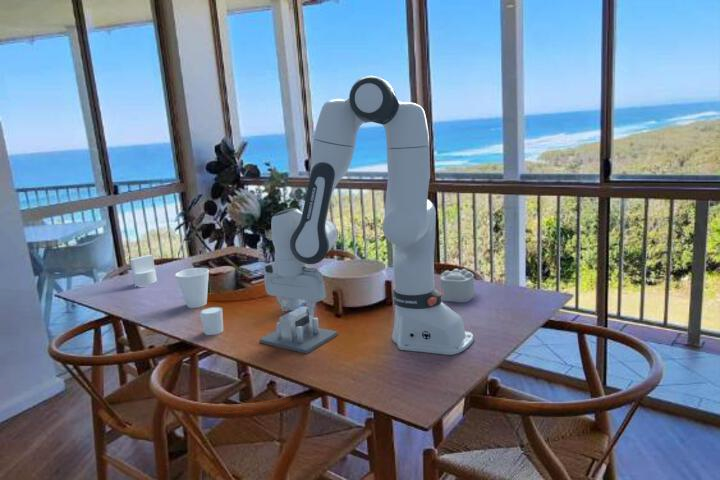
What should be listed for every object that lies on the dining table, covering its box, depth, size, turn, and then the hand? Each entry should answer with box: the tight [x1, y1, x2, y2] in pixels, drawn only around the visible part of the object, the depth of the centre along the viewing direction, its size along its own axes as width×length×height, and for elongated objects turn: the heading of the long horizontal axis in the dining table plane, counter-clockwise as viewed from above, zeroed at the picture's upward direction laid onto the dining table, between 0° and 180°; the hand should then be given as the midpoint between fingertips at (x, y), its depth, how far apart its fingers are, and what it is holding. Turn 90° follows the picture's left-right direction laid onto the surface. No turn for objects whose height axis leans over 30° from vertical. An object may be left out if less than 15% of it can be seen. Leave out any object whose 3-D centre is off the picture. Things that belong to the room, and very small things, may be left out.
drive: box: [279, 305, 315, 343], centre depth 151 cm, size 4×10×7 cm, turn 146°
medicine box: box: [285, 297, 307, 312], centre depth 179 cm, size 8×4×9 cm, turn 168°
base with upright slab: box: [129, 254, 158, 286], centre depth 221 cm, size 9×9×12 cm
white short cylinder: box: [199, 306, 224, 336], centre depth 162 cm, size 7×7×7 cm
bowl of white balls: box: [439, 268, 475, 303], centre depth 177 cm, size 10×13×9 cm
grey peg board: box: [258, 317, 339, 355], centre depth 152 cm, size 18×14×6 cm
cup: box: [174, 267, 210, 309], centre depth 189 cm, size 12×12×12 cm
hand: (297, 312), depth 150 cm, fingers open, 8 cm apart
